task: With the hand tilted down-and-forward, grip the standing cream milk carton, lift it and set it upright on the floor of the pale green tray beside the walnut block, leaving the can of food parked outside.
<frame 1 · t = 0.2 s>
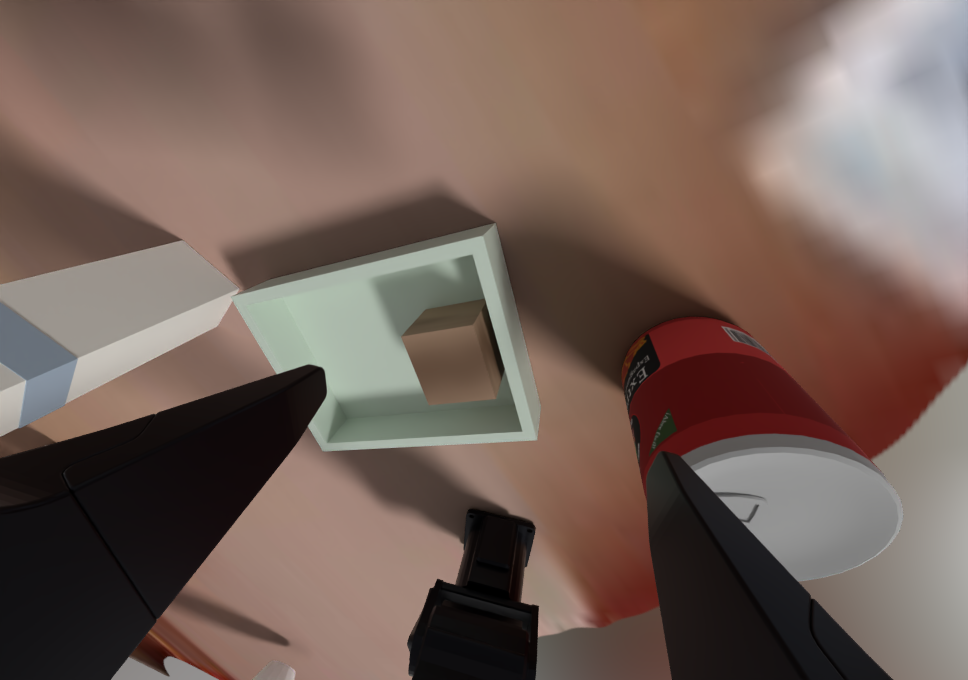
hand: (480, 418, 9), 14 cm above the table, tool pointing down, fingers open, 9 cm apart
canned food: (685, 365, 23), on the table
pale green tray: (405, 343, 26), on the table
carton: (201, 285, 28), on the table
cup: (295, 644, 62), on the table
walnut block: (466, 337, 25), resting on pale green tray
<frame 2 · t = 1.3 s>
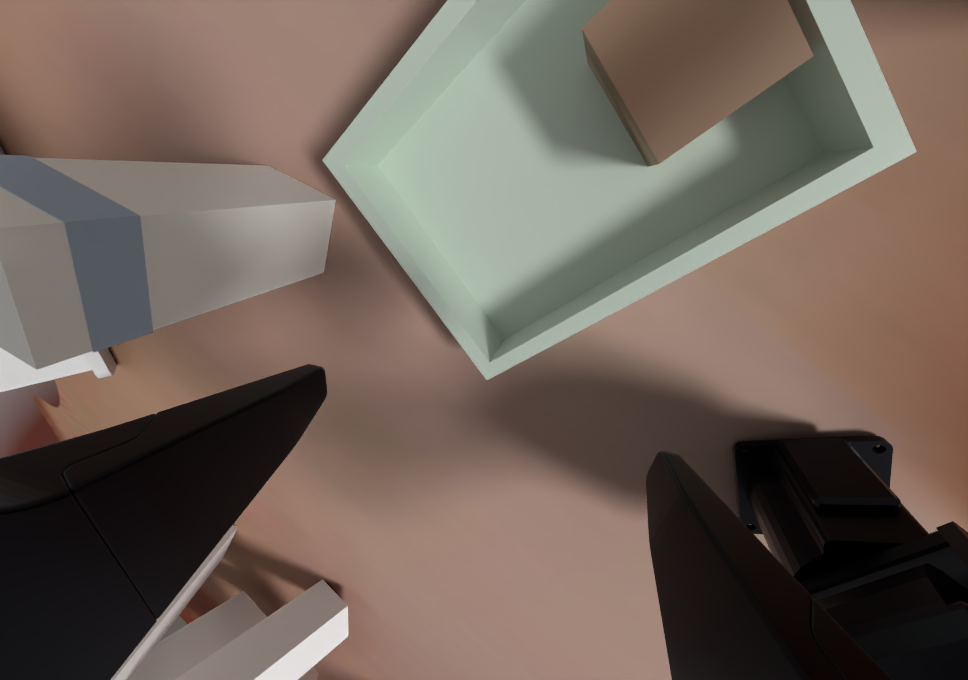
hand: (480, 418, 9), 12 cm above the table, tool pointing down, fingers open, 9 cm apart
pale green tray: (564, 160, 17), on the table
carton: (297, 221, 23), on the table
tablet stand: (20, 241, 34), on the table
pile of blocks: (287, 599, 48), on the table
walnut block: (670, 74, 14), resting on pale green tray
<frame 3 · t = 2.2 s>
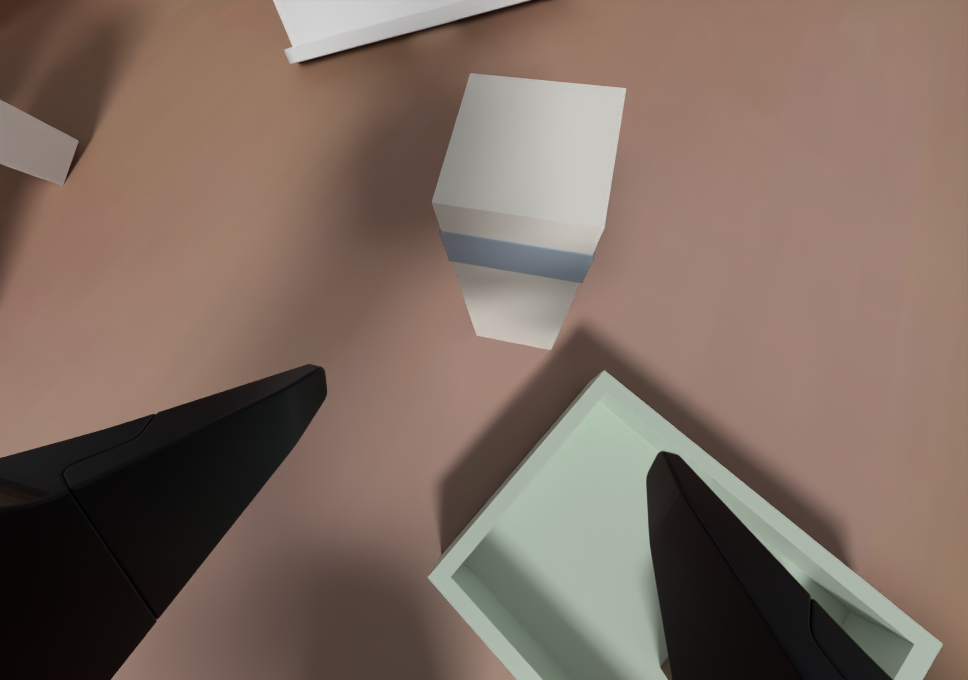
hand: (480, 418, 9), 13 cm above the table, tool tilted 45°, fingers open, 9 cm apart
pale green tray: (641, 579, 19), on the table
carton: (520, 307, 24), on the table
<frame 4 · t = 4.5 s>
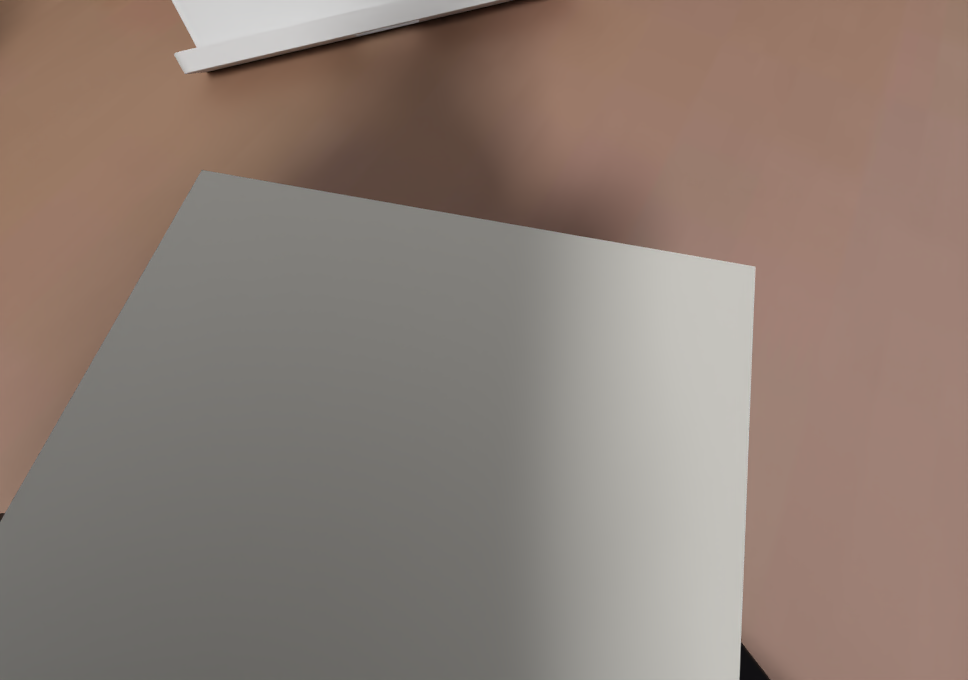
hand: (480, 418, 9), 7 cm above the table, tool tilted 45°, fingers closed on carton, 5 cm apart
carton: (483, 461, 16), on the table, touching gripper
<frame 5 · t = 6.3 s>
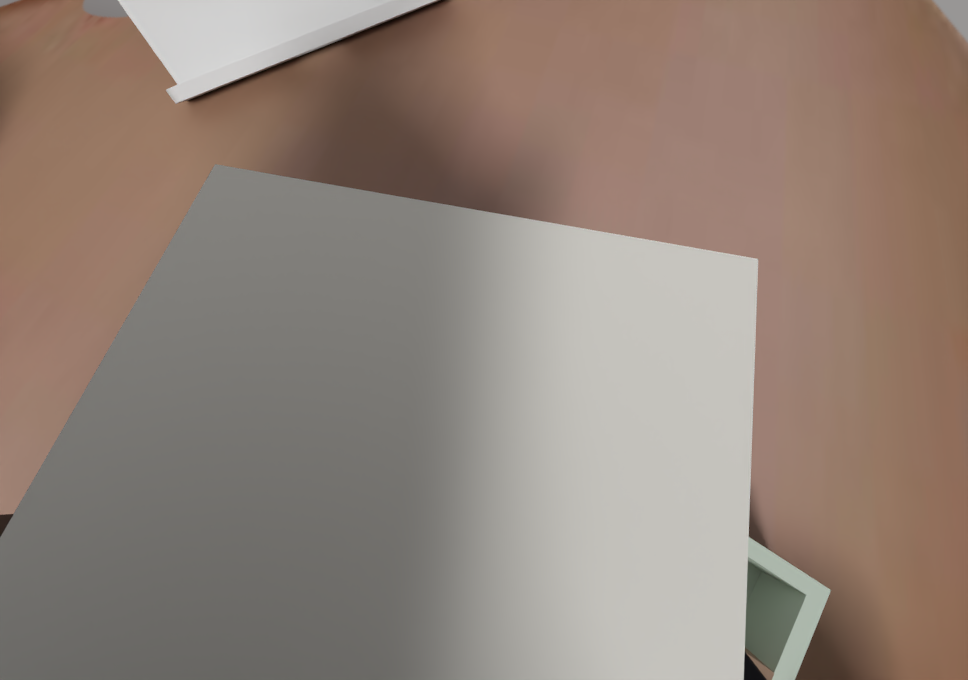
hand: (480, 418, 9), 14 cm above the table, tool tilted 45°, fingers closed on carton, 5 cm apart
pale green tray: (571, 574, 20), on the table
carton: (484, 461, 16), point 6 cm above the table, touching gripper
tablet stand: (304, 12, 34), on the table
when the fingers open (9 cm above the table, at t = 7.9 s): carton drops 1 cm, resting on pale green tray.
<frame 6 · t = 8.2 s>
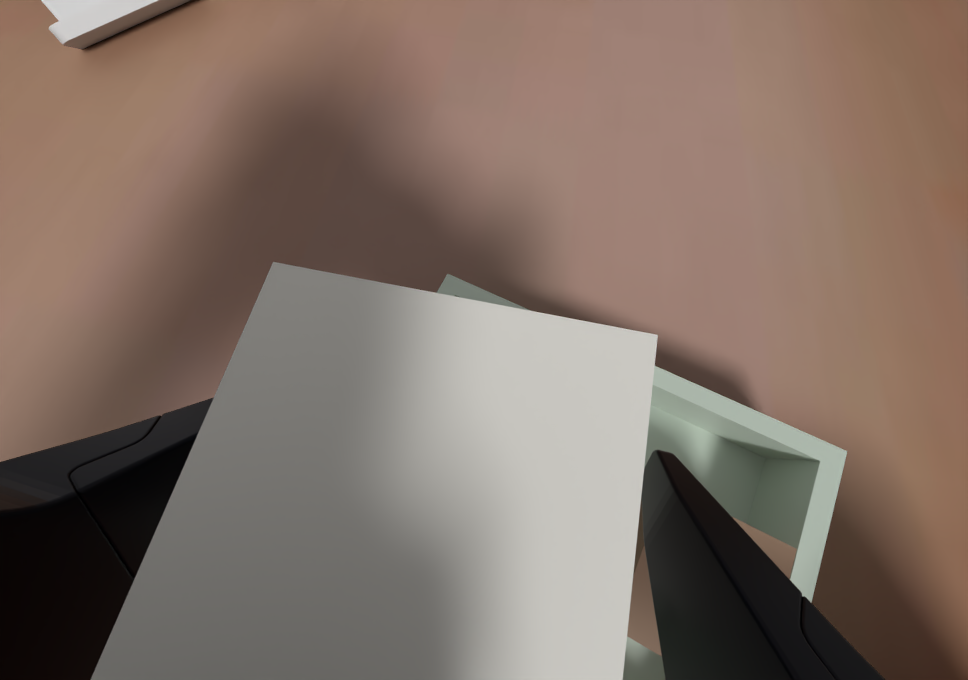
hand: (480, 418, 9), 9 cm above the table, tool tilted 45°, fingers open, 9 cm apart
pale green tray: (551, 495, 17), on the table
carton: (482, 461, 17), point 1 cm above the table, touching pale green tray
walnut block: (657, 553, 16), resting on pale green tray
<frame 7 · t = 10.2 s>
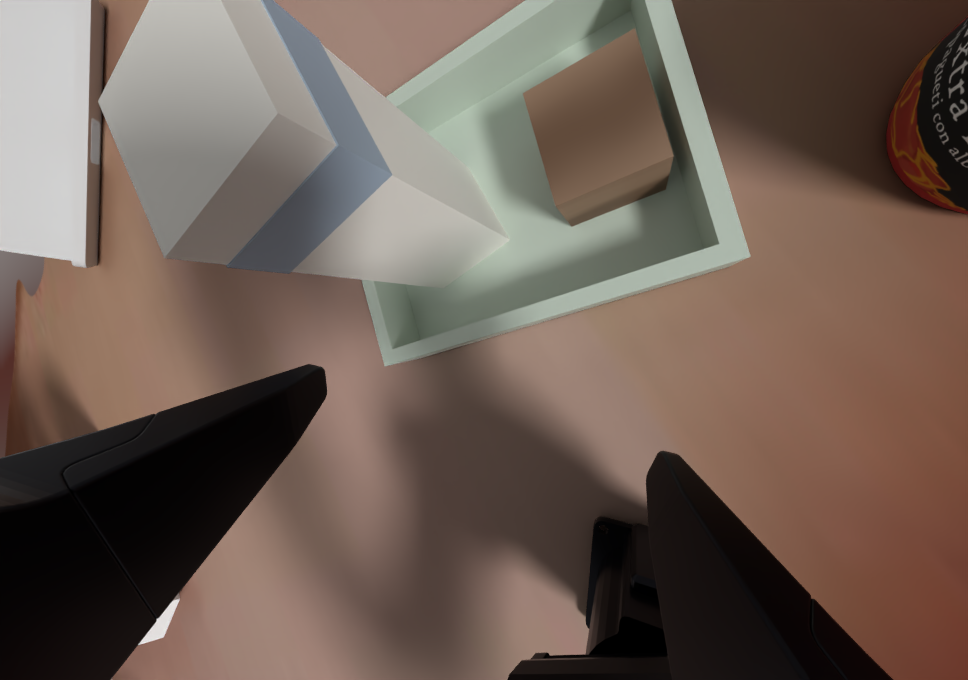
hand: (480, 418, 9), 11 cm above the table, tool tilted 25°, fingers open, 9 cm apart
pale green tray: (513, 205, 20), on the table
carton: (455, 229, 21), resting on pale green tray
tablet stand: (79, 142, 39), on the table
pile of blocks: (128, 577, 42), on the table
walnut block: (602, 161, 18), resting on pale green tray
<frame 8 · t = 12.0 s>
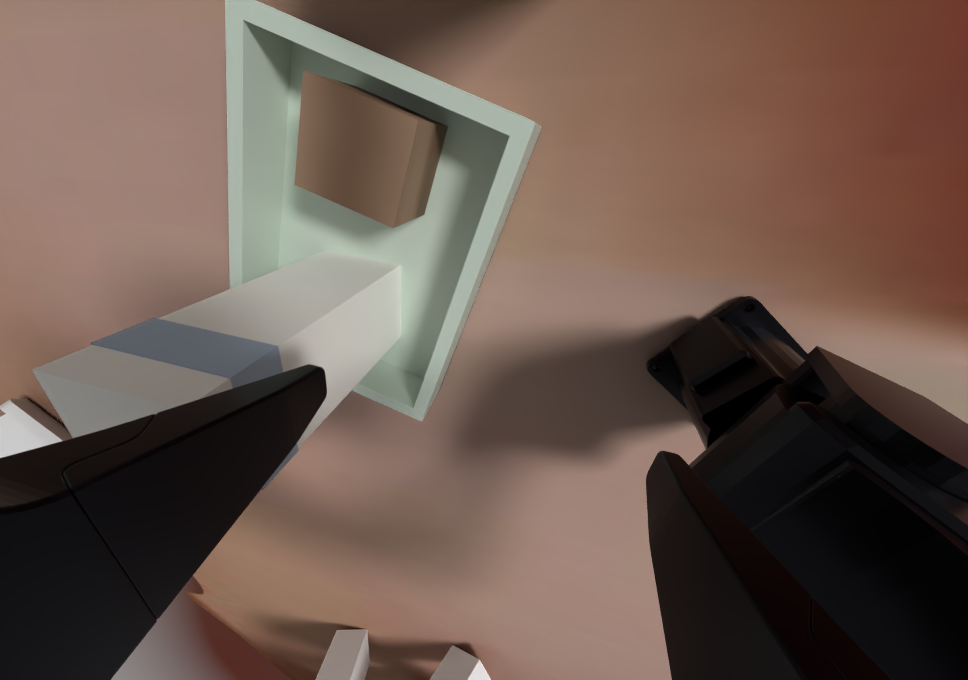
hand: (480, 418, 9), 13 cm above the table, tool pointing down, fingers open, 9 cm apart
pale green tray: (377, 240, 22), on the table
carton: (364, 295, 23), resting on pale green tray
tablet stand: (114, 485, 45), on the table
pile of blocks: (441, 677, 50), on the table
walnut block: (392, 154, 19), resting on pale green tray
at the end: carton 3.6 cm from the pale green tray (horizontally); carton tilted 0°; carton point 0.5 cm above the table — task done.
